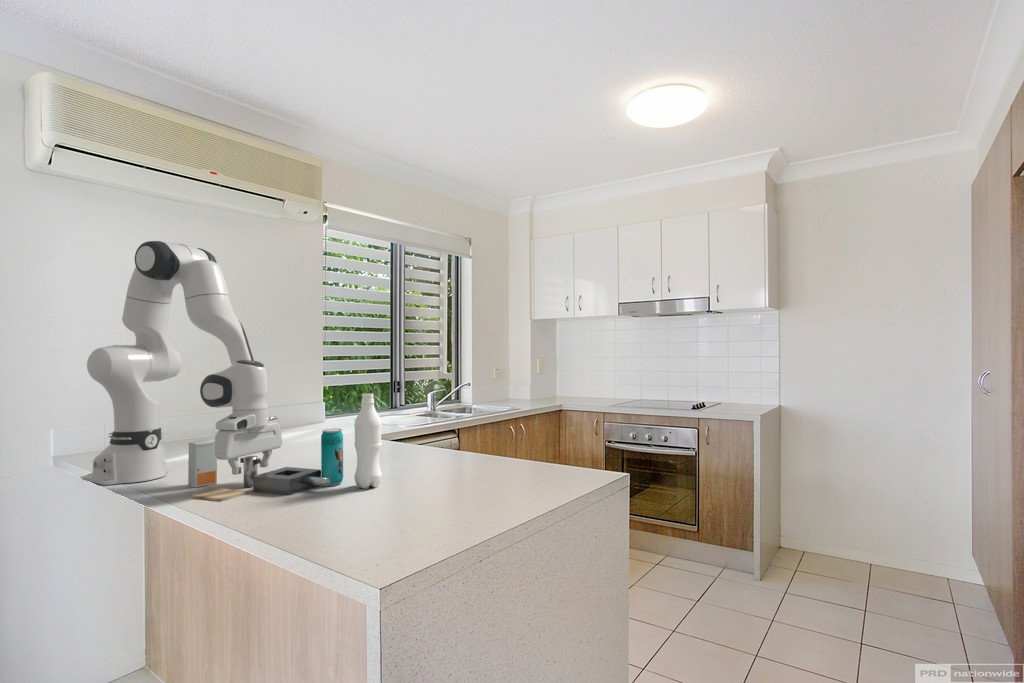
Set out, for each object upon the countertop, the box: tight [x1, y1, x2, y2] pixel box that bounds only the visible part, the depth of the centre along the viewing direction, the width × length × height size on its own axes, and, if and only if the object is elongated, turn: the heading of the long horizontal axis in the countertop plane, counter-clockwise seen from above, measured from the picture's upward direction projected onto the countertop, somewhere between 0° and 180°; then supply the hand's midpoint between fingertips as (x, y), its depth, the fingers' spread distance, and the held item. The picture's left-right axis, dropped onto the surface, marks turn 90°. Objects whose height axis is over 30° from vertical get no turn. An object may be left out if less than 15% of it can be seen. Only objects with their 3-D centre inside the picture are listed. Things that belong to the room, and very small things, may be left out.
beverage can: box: [320, 427, 344, 487], centre depth 152 cm, size 6×6×15 cm
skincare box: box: [187, 439, 218, 489], centre depth 153 cm, size 6×4×12 cm
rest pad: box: [190, 487, 248, 502], centre depth 142 cm, size 10×8×1 cm
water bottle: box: [353, 393, 383, 490], centre depth 150 cm, size 7×7×25 cm
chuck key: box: [239, 455, 262, 489], centre depth 151 cm, size 6×3×8 cm, turn 69°
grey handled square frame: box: [252, 466, 330, 496], centre depth 148 cm, size 19×12×4 cm, turn 69°
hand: (250, 470), depth 151 cm, fingers open, 8 cm apart
